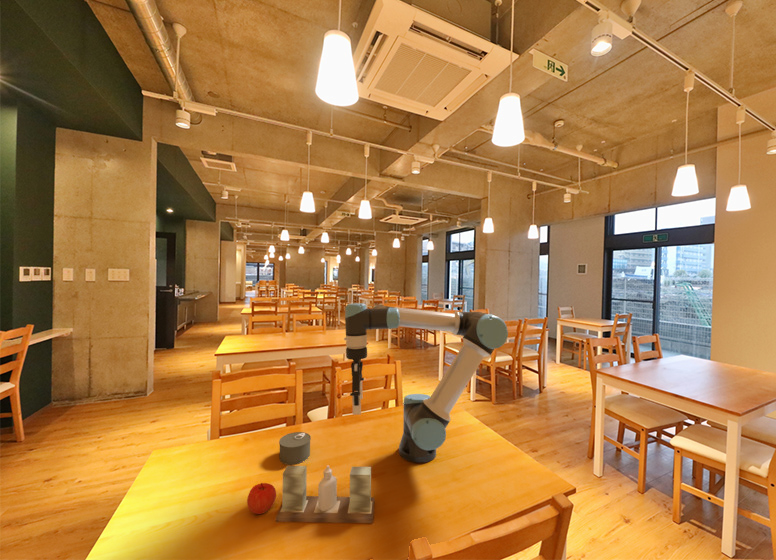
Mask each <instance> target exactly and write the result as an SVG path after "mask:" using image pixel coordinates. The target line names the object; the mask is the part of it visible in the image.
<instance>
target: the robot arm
mask: <svg viewBox="0 0 776 560" xmlns="http://www.w3.org/2000/svg"><path fill="white" fill-rule="evenodd" d="M344 314H345V315H344V316H345V317H344V323H345V325H344V327H345V337H344V338H343V340H344V341H345V346H346V348H345V357H346V359H348V360H352V362H351V363H350V368H351V377H352V379H351V392H350V393H349V396H351V397H352V400H351V401H352V416H354V415H355V416H356V415H357V416H358V415H362V401H361V400H363V398H364V397H363V382H364V381H365V377H363V372H362V371H363V361H362V360H364V359H366V358H367V357H368V347H367V345H368V333H367V330H391V329H398V328H400V327H404V328H413V329H420V330H421V329H423V330H433V331H441V332H450V333H452V335H454V336H455V335H456V336H460V337H462V338H461V339H462V342H463V343H462V344H463V345H462V346H461V348H460V349H459V351H458V352H457V354H456V356H455V357H454V359H453V361H452V362H451V363H450V365H449V367H448V368H447V370H446V372H445V373H444V374H443V376H442V378H441V380H440V381H439V383H438V384H437V386H436V387H435V389H434V390H433V392H432V394H431V395H428V394H423V393H411V394H408V395H404V398H403V403H402V405H403V423H402V424H403V427H402V428H403V429H402V430H403V431H402V435H401V439H400V442H399V444H398V453H399V456H400V455H401V456H400V457H401V458H402V459H404V460H406V461H407V462H411V463H416V464H423V463H424V464H425V463H428V462H431V461H433V460H434V459H435V458H436V456H437V449H439V448H441V447H442V445H443V444H444V442H445V441H446V438H447V431H446V429H447V427H448V425H449V424H450V421H451V415H450V414H451V411H452V410H453V408H454V407H455V405H456V404H457V402H458V400H459V399H460V397H461V395H462V394H463V393H464V391H465V389H466V388H467V386H468V383H470V381H471V379H472V377H473V376H474V374H475V372H476V371H477V370H478V368H479V367H480V364H481V363H482V361H483V360H484V358H486V357H491V355H492V353H493V352H494V351H495V349H499V348H501V347H502V346H504V345H505V344H506V342H507V340H508V336H509V330H508V327H507V324H506V322H505V321H504V320H503V319H502V318H501V317H500V316H498V315H497V316H496V315H494V314H491V313H485V312H481V311H456V310H455V311H454V312H453V313H452V312H451V313H450V312H444V311H432V310H425V309H414V308H407V307H406V308H405V307H397V306H388V305H387V306H386V305H383V304H378V305H375V306H374V307H372V308H368V307H367V304H366V303H359V302H358V303H356V302H355V303H352V302H351V303H348V304H346V305H345V311H344Z"/></svg>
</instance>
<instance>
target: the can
mask: <svg viewBox="0 0 776 560" xmlns="http://www.w3.org/2000/svg"><path fill="white" fill-rule="evenodd" d="M311 439H312V436H311V435H310V434H309V433H307V432H303V431H295V432H290V433H287V434H285V435H283V436H281V437H280V439H279V441H278V442H279V462H280V463H282V465H286V466H296V465H298V464H301V463H304V462H305V460H306V459H307V460H309V458H310V457H311ZM309 456H310V457H309ZM308 457H309V458H308ZM307 460H306V461H307ZM303 461H304V462H303Z"/></svg>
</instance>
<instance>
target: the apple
mask: <svg viewBox="0 0 776 560" xmlns="http://www.w3.org/2000/svg"><path fill="white" fill-rule="evenodd" d="M276 498H277V490H276V487H275V486H274V485H273V484H271V483H269V482H268V483H267V482H260V483H257V484H255V485H254V486H252V488H250V491H249V493H248V495H247V500H246V501H247V502H246V503H247V508H248V509H249V511H250V512H251V513H253V514H254V515H255V514H256V515H262V514H264V513H266V512H268V511H270V510H271V509H272V507H273V505H274V504H275V501H276Z"/></svg>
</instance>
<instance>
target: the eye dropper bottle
mask: <svg viewBox="0 0 776 560" xmlns="http://www.w3.org/2000/svg"><path fill="white" fill-rule="evenodd" d="M337 480H338V479H337V477H336V476H334V475H333V469H332V468H330V465H329V464H328V465H326V468H325V469H324V470H323V478H322V479H321V480H320V481H319V483H318V489H317V490H318V495H317V496H318V508H319V509H320V510H321V511H326V510H329V509H330V508H332V507H333V506H334V505H335V504H336V501H337V497H338V496H337V493H338V492H337V491H338V490H337V489H338V487H337V485H338V483H337V482H338V481H337Z"/></svg>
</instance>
